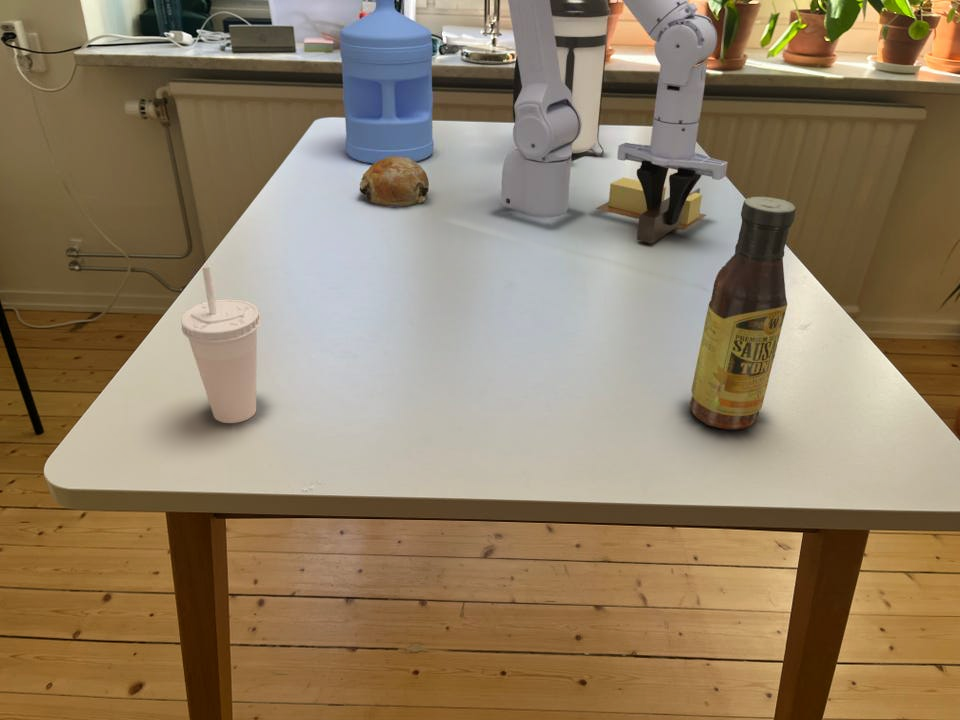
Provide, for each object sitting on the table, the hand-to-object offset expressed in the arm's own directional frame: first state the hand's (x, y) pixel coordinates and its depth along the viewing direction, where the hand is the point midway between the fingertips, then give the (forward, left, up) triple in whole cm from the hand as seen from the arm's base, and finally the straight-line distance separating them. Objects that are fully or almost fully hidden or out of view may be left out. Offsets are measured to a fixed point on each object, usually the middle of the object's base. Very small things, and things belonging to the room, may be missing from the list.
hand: (662, 220), depth 111 cm
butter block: (-8, +8, -2) cm, 11 cm away
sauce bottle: (+24, -36, -3) cm, 44 cm away
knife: (0, +3, -1) cm, 4 cm away
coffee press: (-33, +28, -3) cm, 43 cm away
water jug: (-57, +9, -3) cm, 58 cm away
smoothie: (-11, -63, -3) cm, 64 cm away
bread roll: (-40, -9, -3) cm, 41 cm away
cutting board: (-5, +8, -3) cm, 10 cm away
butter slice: (+1, +8, -2) cm, 8 cm away
